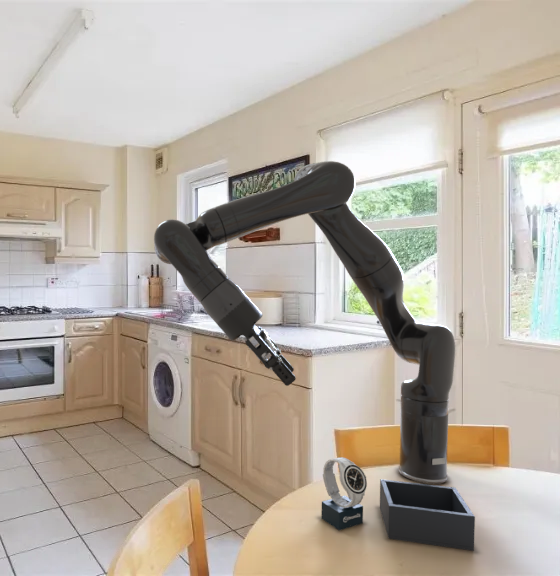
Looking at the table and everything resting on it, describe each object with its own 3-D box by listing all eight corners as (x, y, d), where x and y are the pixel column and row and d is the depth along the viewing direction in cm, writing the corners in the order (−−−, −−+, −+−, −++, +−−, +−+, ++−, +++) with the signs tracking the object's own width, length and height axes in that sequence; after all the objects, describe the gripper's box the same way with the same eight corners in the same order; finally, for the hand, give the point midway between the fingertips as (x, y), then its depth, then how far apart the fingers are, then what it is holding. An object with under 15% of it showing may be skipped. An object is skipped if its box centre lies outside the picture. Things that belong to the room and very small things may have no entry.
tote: (379, 508, 90) (380, 478, 89) (454, 517, 86) (455, 487, 86) (388, 538, 79) (389, 505, 79) (474, 551, 76) (474, 516, 76)
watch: (347, 536, 80) (348, 471, 80) (314, 514, 87) (315, 454, 87) (372, 528, 82) (373, 465, 82) (337, 507, 90) (338, 449, 89)
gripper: (244, 296, 80) (310, 371, 78) (248, 294, 94) (304, 358, 92) (210, 325, 81) (275, 400, 79) (219, 319, 95) (274, 382, 93)
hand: (291, 377), depth 85 cm, fingers open, 8 cm apart
